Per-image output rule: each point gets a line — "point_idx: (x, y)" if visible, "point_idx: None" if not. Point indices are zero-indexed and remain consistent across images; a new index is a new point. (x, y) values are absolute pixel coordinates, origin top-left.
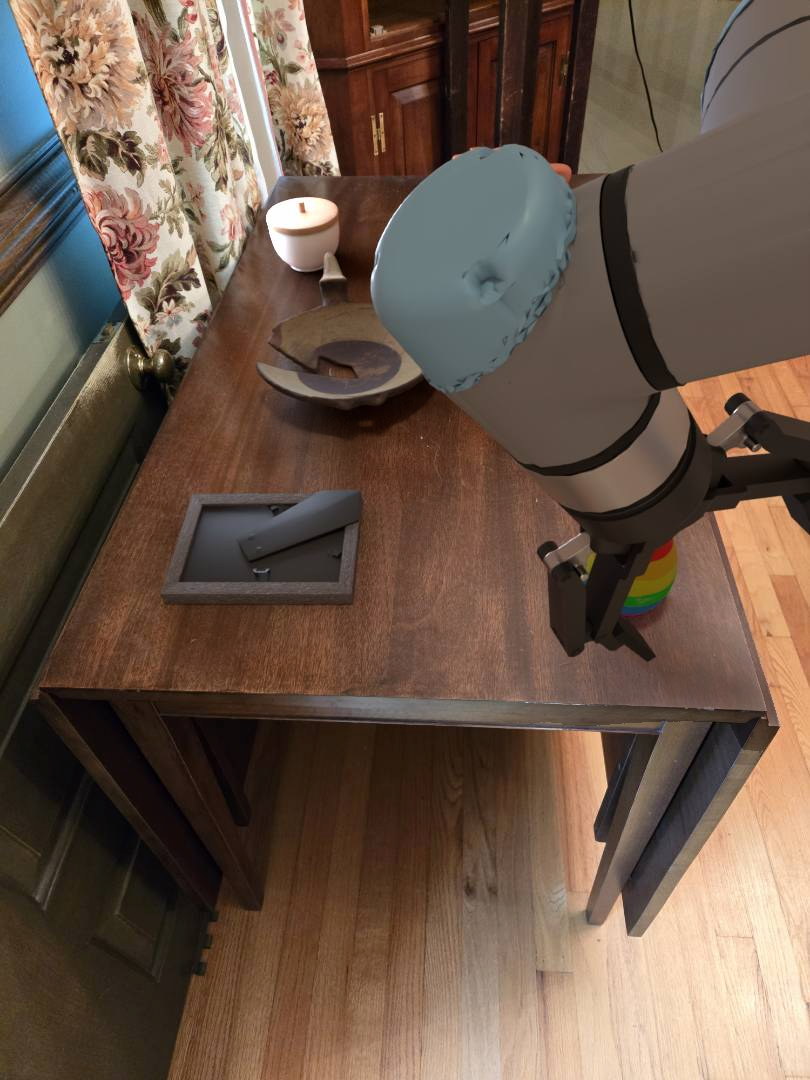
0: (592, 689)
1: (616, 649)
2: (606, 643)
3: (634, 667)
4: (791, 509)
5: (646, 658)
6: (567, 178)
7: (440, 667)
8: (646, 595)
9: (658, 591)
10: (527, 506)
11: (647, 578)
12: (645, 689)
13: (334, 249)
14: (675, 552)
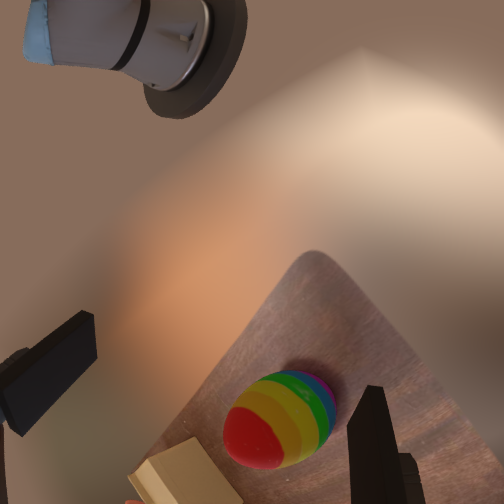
0: (417, 370)
1: (407, 454)
2: (415, 487)
3: (367, 351)
4: (70, 373)
5: (381, 397)
6: (129, 501)
7: (481, 481)
8: (298, 395)
9: (286, 388)
10: (296, 484)
11: (281, 410)
12: (380, 329)
13: None
14: (241, 398)
